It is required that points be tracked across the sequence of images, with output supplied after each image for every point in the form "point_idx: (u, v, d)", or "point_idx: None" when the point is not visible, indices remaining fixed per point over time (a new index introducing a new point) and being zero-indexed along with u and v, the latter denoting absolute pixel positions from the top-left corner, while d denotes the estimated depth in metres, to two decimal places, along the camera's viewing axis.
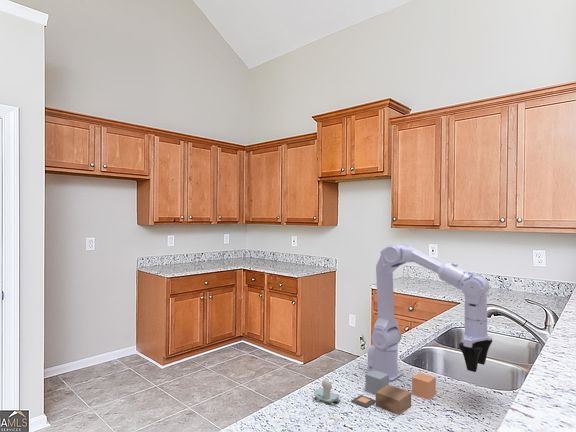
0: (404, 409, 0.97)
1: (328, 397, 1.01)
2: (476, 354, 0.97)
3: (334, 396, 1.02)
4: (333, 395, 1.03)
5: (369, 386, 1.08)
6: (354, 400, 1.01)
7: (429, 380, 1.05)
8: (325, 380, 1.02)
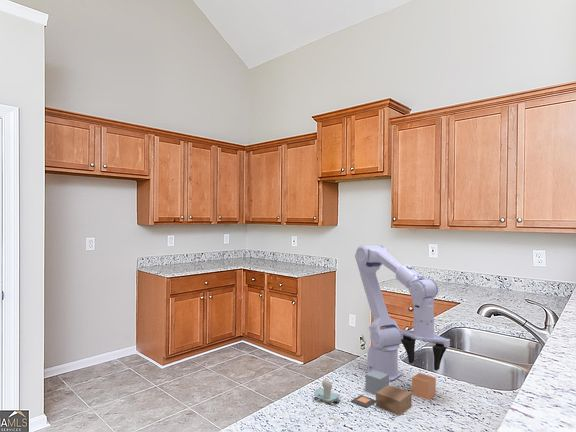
0: (404, 410, 0.96)
1: (328, 397, 1.01)
2: None
3: (334, 396, 1.02)
4: (333, 395, 1.03)
5: (369, 386, 1.08)
6: (354, 400, 1.01)
7: (429, 380, 1.05)
8: (325, 379, 1.02)
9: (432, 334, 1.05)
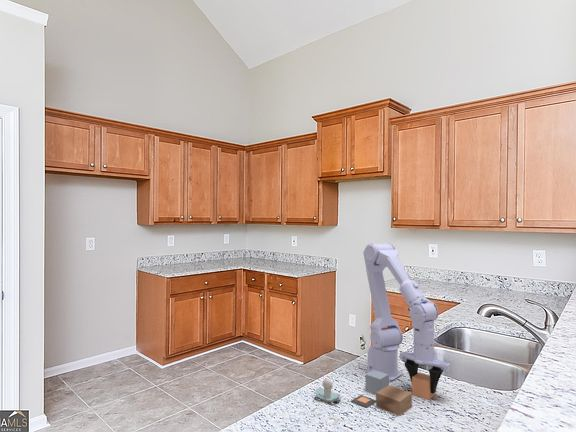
0: (405, 410, 0.96)
1: (329, 396, 1.02)
2: None
3: (335, 395, 1.03)
4: (334, 394, 1.03)
5: (369, 386, 1.08)
6: (354, 400, 1.01)
7: (429, 380, 1.05)
8: (325, 379, 1.02)
9: (432, 358, 1.05)
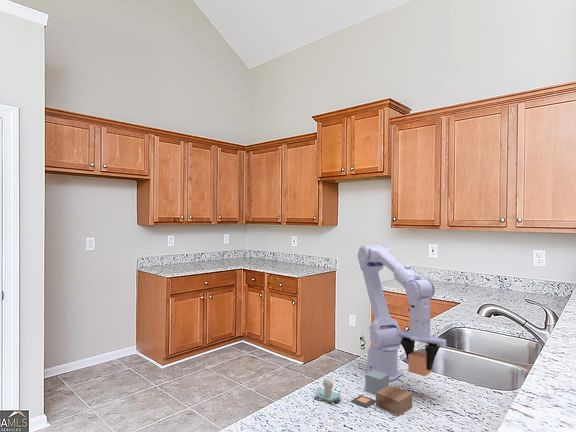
0: (404, 410, 0.96)
1: (329, 396, 1.02)
2: None
3: (335, 395, 1.03)
4: (334, 394, 1.03)
5: (369, 386, 1.08)
6: (354, 400, 1.01)
7: (426, 357, 1.04)
8: (326, 379, 1.02)
9: (428, 335, 1.04)
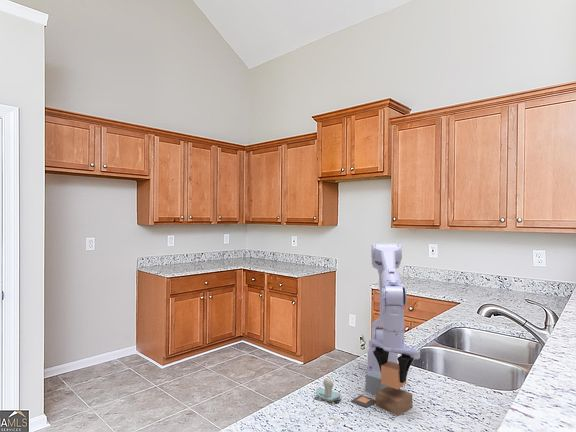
0: (404, 410, 0.96)
1: (329, 396, 1.02)
2: None
3: (335, 395, 1.03)
4: (334, 394, 1.04)
5: (369, 386, 1.08)
6: (354, 400, 1.01)
7: None
8: (326, 378, 1.03)
9: (402, 345, 0.98)
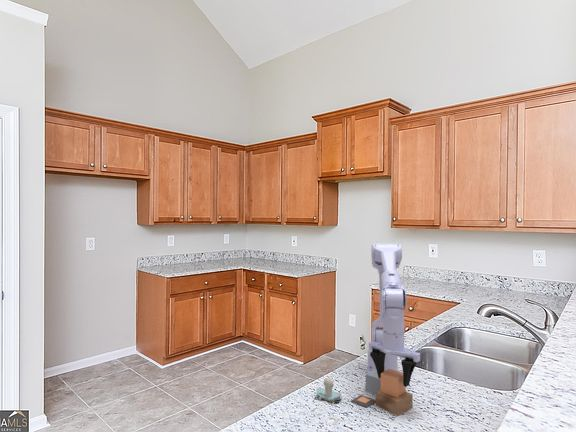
0: (404, 410, 0.96)
1: (330, 395, 1.02)
2: None
3: (336, 394, 1.03)
4: (335, 394, 1.04)
5: (369, 386, 1.08)
6: (354, 400, 1.01)
7: (399, 376, 0.98)
8: (326, 378, 1.03)
9: (402, 347, 0.98)
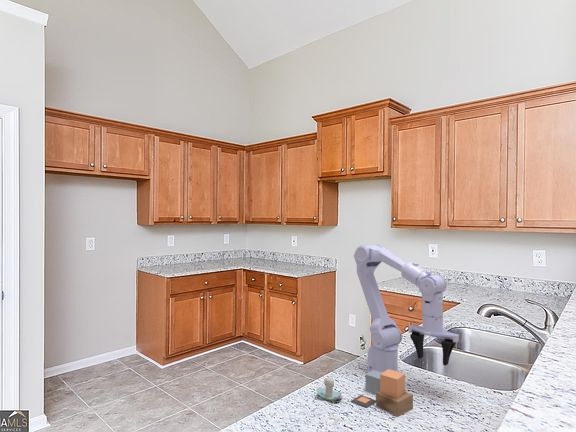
0: (404, 411, 0.96)
1: (330, 395, 1.02)
2: None
3: (336, 394, 1.03)
4: (335, 393, 1.04)
5: (369, 386, 1.08)
6: (354, 400, 1.01)
7: (398, 377, 0.97)
8: (327, 378, 1.03)
9: (441, 329, 1.06)
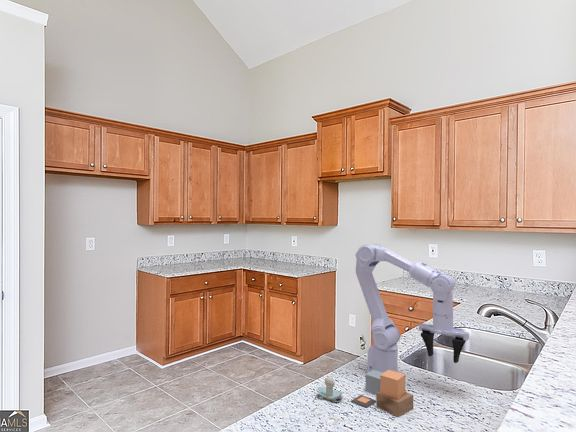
0: (404, 411, 0.95)
1: (331, 395, 1.03)
2: None
3: (337, 394, 1.04)
4: (336, 393, 1.04)
5: (369, 386, 1.08)
6: (354, 400, 1.01)
7: (398, 377, 0.97)
8: (327, 377, 1.03)
9: (451, 328, 1.08)
